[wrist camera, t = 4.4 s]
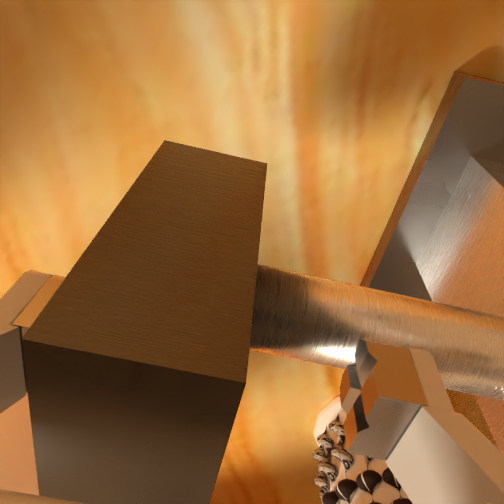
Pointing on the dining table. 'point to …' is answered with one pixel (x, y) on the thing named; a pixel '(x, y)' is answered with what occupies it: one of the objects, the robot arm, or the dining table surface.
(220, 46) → the dining table surface
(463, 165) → the bearing stand
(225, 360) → the shaft
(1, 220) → the dining table surface
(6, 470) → the foam cup
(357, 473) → the decorative candle
